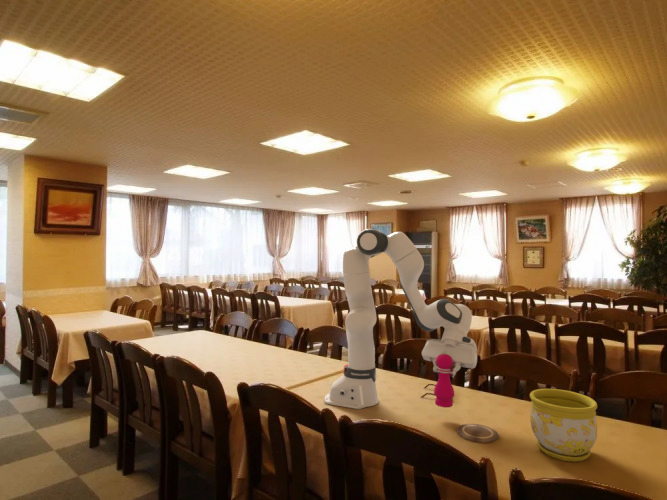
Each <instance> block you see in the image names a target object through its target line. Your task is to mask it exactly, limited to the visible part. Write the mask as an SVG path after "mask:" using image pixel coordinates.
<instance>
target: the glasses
mask: <svg viewBox="0 0 667 500" xmlns="http://www.w3.org/2000/svg"><path fill="white" fill-rule="evenodd" d="M428 386H434V387H435V386H436V384H434V383H433V384H432V383H428V384H426V386H424V387H423V389H424V388H425V389H427V388H428ZM427 395H431V396H435V394H434V392H425V394H423V395H421V396H420V398H424V397H426V396H427ZM435 397H436V396H435Z"/></svg>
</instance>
